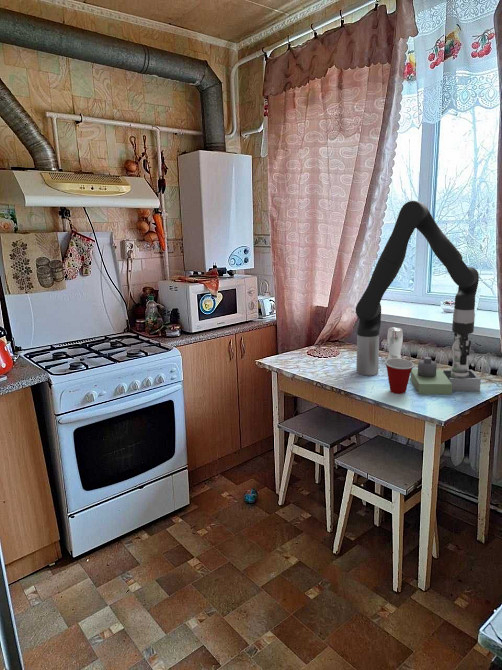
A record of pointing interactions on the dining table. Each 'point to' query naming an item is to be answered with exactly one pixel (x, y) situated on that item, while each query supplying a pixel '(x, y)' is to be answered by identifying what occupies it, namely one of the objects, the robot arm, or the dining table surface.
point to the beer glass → (395, 342)
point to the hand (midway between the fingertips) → (460, 362)
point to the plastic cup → (398, 374)
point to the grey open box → (464, 382)
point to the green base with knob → (430, 378)
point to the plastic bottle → (458, 362)
